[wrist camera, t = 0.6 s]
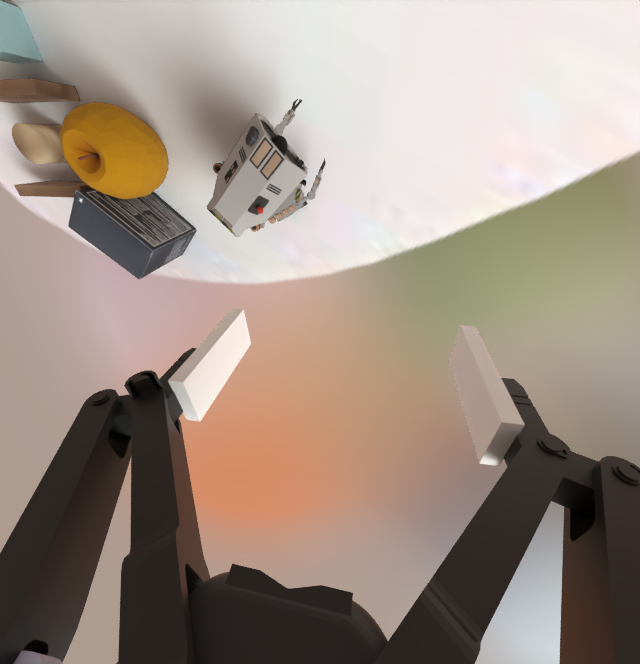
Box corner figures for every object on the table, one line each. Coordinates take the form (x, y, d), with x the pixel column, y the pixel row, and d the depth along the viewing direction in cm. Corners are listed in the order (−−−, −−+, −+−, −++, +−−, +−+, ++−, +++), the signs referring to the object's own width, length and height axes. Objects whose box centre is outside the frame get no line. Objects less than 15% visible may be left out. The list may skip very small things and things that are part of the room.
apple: (105, 119, 37) (9, 110, 27) (162, 98, 34) (79, 80, 25) (144, 197, 42) (74, 212, 33) (196, 184, 40) (138, 196, 30)
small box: (125, 210, 44) (64, 227, 36) (138, 177, 41) (73, 186, 32) (182, 257, 47) (137, 282, 38) (198, 229, 43) (153, 250, 35)
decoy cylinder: (43, 125, 39) (4, 123, 35) (69, 125, 38) (32, 122, 34) (60, 161, 41) (26, 163, 37) (85, 162, 41) (52, 163, 37)
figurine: (344, 182, 36) (325, 201, 24) (275, 222, 41) (229, 256, 28) (311, 104, 32) (268, 79, 20) (238, 159, 37) (167, 166, 25)
